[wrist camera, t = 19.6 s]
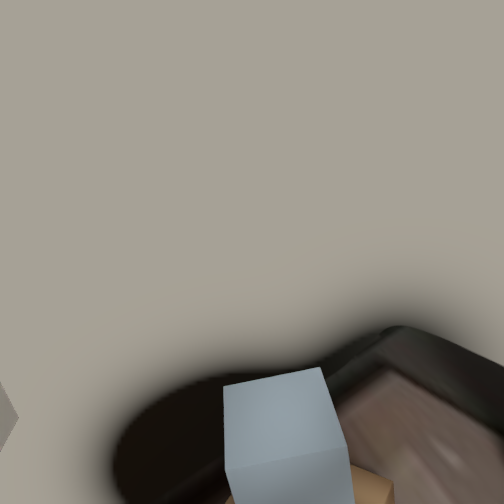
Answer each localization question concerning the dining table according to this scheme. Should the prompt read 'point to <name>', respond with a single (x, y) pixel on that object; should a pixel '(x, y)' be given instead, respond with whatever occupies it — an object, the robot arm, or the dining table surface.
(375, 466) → the dining table surface
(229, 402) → the slate block
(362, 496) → the walnut block
